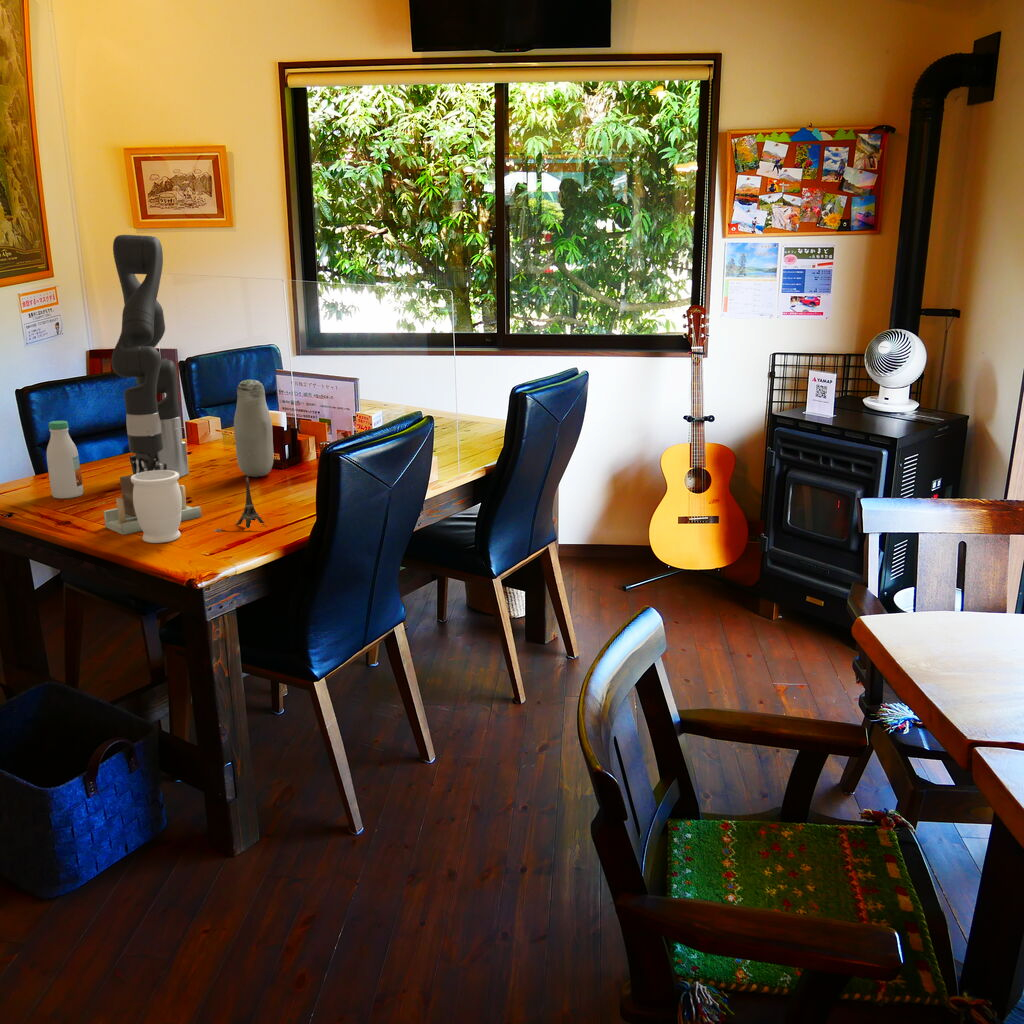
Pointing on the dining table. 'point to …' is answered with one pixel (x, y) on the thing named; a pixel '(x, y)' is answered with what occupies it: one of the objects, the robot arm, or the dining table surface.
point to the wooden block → (129, 494)
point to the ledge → (129, 524)
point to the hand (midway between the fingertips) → (152, 500)
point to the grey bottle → (253, 430)
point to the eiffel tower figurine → (248, 509)
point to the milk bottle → (63, 463)
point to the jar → (158, 504)
